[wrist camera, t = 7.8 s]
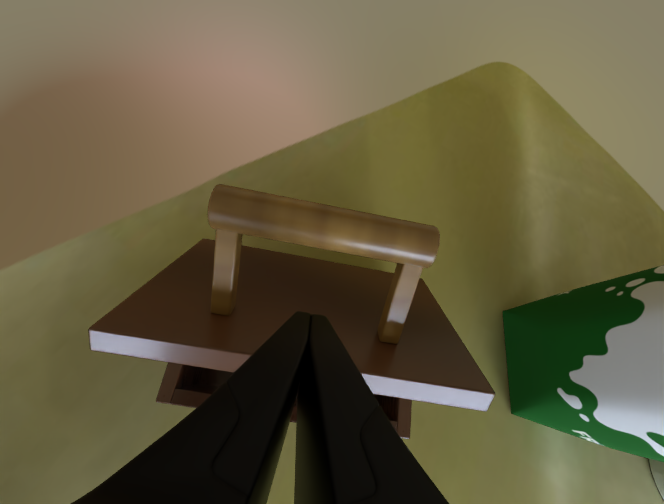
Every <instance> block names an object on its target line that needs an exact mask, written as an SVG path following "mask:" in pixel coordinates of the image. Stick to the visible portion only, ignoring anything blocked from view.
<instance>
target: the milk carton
mask: <svg viewBox="0 0 664 504" xmlns="http://www.w3.org/2000/svg"><path fill="white" fill-rule="evenodd" d="M503 322H504V334H505V346H506V357H507V369H508V380H509V392H510V403H511V414H514V415H517V416H520V417H523V418H525V419H528V420H531V421H534V422H537V423H540V424H543V425H545V426H548V427H551V428H554V429H557V430H560V431H562V432H565V433H568V434H571V435H574V436H576V437H579V438H582V439H585V440H588V441H591V442H594V443H596V444H599V445H602V446H606V447H609V448H612V449H616V450H620V451H623V452H627V453H631V454H634V455H638V456H641V457H645V458H649V459H653V460H657V461H660V462H664V265H663V266H659V267H655V268H651V269H648V270H644V271H640V272H637V273H633V274H629V275H625V276H622V277H618V278H614V279H611V280H607V281H603V282H599V283H596V284H592V285H588V286H585V287H581V288H577V289H574V290H570V291H567V292H563V293H560V294H557V295H554V296H550V297H547V298H544V299H541V300H538V301H534V302H531V303H528V304H525V305H522V306H518V307H515V308H512V309H509V310H505V311H503Z"/></svg>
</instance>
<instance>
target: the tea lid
mask: <svg viewBox="0 0 664 504" xmlns="http://www.w3.org/2000/svg"><path fill="white" fill-rule="evenodd" d="M208 222H209V225H210V227H212V228H213V229H216V236H215V240H210V239H202V240H201V241H200V242H198V243H197V244H196V245H194V246H193V247H192V248H191V249H189V250H188V251H187V252H185V253H184V254H183V255H182V256H180V257H179V258H178V259H177V260H175V261H174V262H173V263H171V264H170V265H169V266H168V267H166V268H165V269H164V270H162V271H161V272H160V273H159V274H157V275H156V276H155V277H154V278H152V279H151V280H150V281H148V282H147V283H146V284H145V285H143V286H142V287H141V288H139V289H138V290H137V291H136V292H134V293H133V294H132V295H131V296H129V297H128V298H127V299H125V300H124V301H123V302H122V303H120V304H119V305H118V306H116V307H115V308H114V309H113V310H111V311H110V312H109V313H108V314H106V315H105V316H104V317H102V318H101V319H100V320H99V321H97V322H96V323H95V324H93V325H92V326H91V327H90V328H89V330H88V331H89V342H90V349H91V350H93V351H99V352H106V353H112V354H119V355H125V356H132V357H138V358H144V359H151V360H157V361H164V362H170V363H177V364H183V365H190V366H196V367H202V368H209V369H215V370H222V371H228V372H235V371H236V370H237V369H238V368H239V367H240V366H241V365H242V364H243V363H244V362H245V361H246V360H247V359H248V358H249V357H250V356H251V355H252V354H253V353H254V352H255V351H256V350H257V349H258V348H259V347H261V346H262V345H263V344H264V343H265V342H266V341H267V340H268V339H269V338H270V337H271V336H272V335H273V334H274V333H275V332H276V331H277V330H278V329H279V328H280V327H281V326H282V325H283V324H284V323H285V322H286V321H287V320H288V319H289V318H290V317H291V316H292V315H293V314H294V313H295V312H297V311H301V312H307V313H310V314H311V315H312V314H318V315H324V316H326V317H327V318H328V320H329V322H330V323H331V325H332V327H333V328H334V330H335V332H336V333H337V335H338V337H339V338H340V340H341V342H342V343H343V345H344V346H345V348H346V350H347V351H348V353H349V355H350V356H351V358H352V360H353V361H354V363H355V365H356V366H357V368H358V370H359V371H360V373H361V375H362V376H363V378H364V380H365V381H366V383H367V385H368V386H369V388H370V389H371V391H372V393H373V394H377V395H383V396H389V397H396V398H402V399H409V400H415V401H422V402H428V403H435V404H441V405H447V406H454V407H460V408H467V409H473V410H480V411H487V410H488V408H489V406H490V404H491V402H492V400H493V398H494V396H495V392H494V390H493V389H492V387H491V386H490V384H489V382H488V381H487V379H486V378H485V376H484V375H483V373H482V372H481V370H480V368H479V367H478V365H477V364H476V362H475V361H474V359H473V357H472V356H471V354H470V353H469V351H468V350H467V348H466V346H465V345H464V343H463V342H462V340H461V339H460V337H459V336H458V334H457V332H456V331H455V329H454V328H453V326H452V325H451V323H450V321H449V320H448V318H447V317H446V315H445V314H444V312H443V310H442V309H441V307H440V306H439V304H438V303H437V301H436V300H435V298H434V296H433V295H432V293H431V292H430V290H429V289H428V287H427V285H426V284H425V282H424V281H423V279H422V278H420V275H421V272H422V269H423V268H428V267H430V266H431V265H432V264H433V262H434V261H435V258H436V256H437V253H438V249H439V244H440V234H439V230H438V229H437V228H436V227H435V226H431V225H426V224H421V223H416V222H411V221H406V220H401V219H396V218H391V217H386V216H381V215H375V214H370V213H365V212H360V211H355V210H350V209H345V208H340V207H335V206H330V205H325V204H319V203H314V202H309V201H304V200H299V199H294V198H289V197H284V196H279V195H274V194H269V193H263V192H258V191H253V190H248V189H243V188H238V187H233V186H228V185H223V184H218V185H216V186H215V188H214V189H213V191H212V193H211V196H210V200H209V204H208ZM243 234H245V235H250V236H256V237H261V238H266V239H272V240H277V241H282V242H288V243H293V244H298V245H304V246H309V247H315V248H320V249H325V250H331V251H336V252H341V253H347V254H352V255H357V256H363V257H368V258H374V259H379V260H384V261H390V262H395V263H397V266H396V269H395V272H394V273H389V272H384V271H379V270H373V269H368V268H362V267H357V266H351V265H346V264H340V263H335V262H330V261H324V260H319V259H313V258H308V257H302V256H297V255H291V254H286V253H281V252H275V251H270V250H264V249H259V248H253V247H248V246H242V235H243Z"/></svg>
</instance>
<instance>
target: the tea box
mask: <svg viewBox="0 0 664 504" xmlns="http://www.w3.org/2000/svg"><path fill="white" fill-rule="evenodd" d="M233 373H234V372H228V371H222V370H215V369H209V368H202V367H196V366H190V365H183V364H177V363H170V362H168V365H167V368H166V371H165V374H164V377H163V380H162V383H161V386H160V389H159V392H158V395H157V398H156V402H159V403H166V404H172V405H179V406H186V407H193V408H197V407H198V406H199V405H200V404H202V403H203V402H204V401H205V400H206V399H207V398H208V397H209V396H210V395H211V394H212V393H213V392H214V391H215V390H216V389H217V388H219V387H220V386H221V385H222V384H223V383H224V382H226V380H227V379H228V378H229V377H230V376H231V375H232V374H233ZM298 389H299V388H298ZM374 396H375V398H376V399H377V401H378V403H379V406H381V407H382V409H383V411H384V412H385V414H386V416H387V417H388V419H389V421H390V422H391V424H392V425H393V427H394V428H395V430H396V431H397V433H398V435H399V436H400V438H405V439H410V426H411V404H412V400H409V399H402V398H396V397H389V396H383V395H377V394H374ZM297 399H298V392H297V397H296V401H295V404H294V408H293V411H292V415H291V418H290V422H295V423H297Z"/></svg>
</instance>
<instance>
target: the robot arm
mask: <svg viewBox="0 0 664 504" xmlns="http://www.w3.org/2000/svg"><path fill="white" fill-rule="evenodd" d="M298 388H299V389H298ZM297 392H298V399H297V427H296V460H295V493H294V504H449V503H448V502H447V500H446V499H445V498H444V496H443V495H442V494H441V492H440V491H439V490H438V488H437V487H436V486H435V484H434V483H433V482H432V480H431V479H430V478H429V476H428V475H427V474H426V472H425V471H424V470H423V468H422V467H421V466H420V464H419V463H418V462H417V460H416V459H415V457H414V456H413V455H412V453H411V452H410V450H409V449H408V448H407V446H406V445H405V443H404V442H403V441H402V439H401V438H400V436H399V435H398V433H397V431H396V430H395V428H394V427H393V425H392V424H391V422H390V421H389V419H388V417H387V416H386V414H385V412H384V411H383V409H382V407H381V406H379V403H378V401H377V399H376V398H375V396H374V394H373V393H372V391H371V389H370V388H369V386H368V385H367V383H366V381H365V380H364V378H363V376H362V375H361V373H360V371H359V370H358V368H357V366H356V365H355V363H354V361H353V360H352V358H351V356H350V355H349V353H348V351H347V350H346V348H345V346H344V345H343V343H342V342H341V340H340V338H339V337H338V335H337V333H336V332H335V330H334V328H333V327H332V325H331V323H330V322H329V320H328V318H327V317H326V316H324V315H318V314H312V315H311V314H310V313H307V312H301V311H297V312H295V313H294V314H293V315H292V316H291V317H290V318H289V319H288V320H287V321H286V322H285V323H284V324H283V325H282V326H281V327H280V328H279V329H278V330H277V331H276V332H275V333H274V334H273V335H272V336H271V337H270V338H269V339H268V340H267V341H266V342H265V343H264V344H263V345H262V346H261V347H259V348H258V349H257V350H256V351H255V352H254V353H253V354H252V355H251V356H250V357H249V358H248V359H247V360H246V361H245V362H244V363H243V364H242V365H241V366H240V367H239V368H238V369H237V370H236V371H235V372H234V373H233V374H232V375H231V376H230V377H229V378H228V379H227V380H226V382H224V383H223V384H222V385H221V386H220V387H219V388H217V389H216V390H215V391H214V392H213V393H212V394H211V395H210V396H209V397H208V398H207V399H206V400H205V401H204V402H203V403H202V404H200V405H199V406H198V407H197V408H196V409H195V410H194V411H193V412H191V413H190V414H189V415H188V416H187V417H185V418H184V419H183V420H182V421H180V422H179V423H178V424H177V425H176V426H174V427H173V428H172V429H171V430H169V431H168V432H167V433H166V434H164V435H163V436H162V437H160V438H159V439H158V440H157V441H155V442H154V443H153V444H152V445H150V446H149V447H148V448H146V449H145V450H144V451H143V452H141V453H140V454H139V455H138V456H136V457H135V458H134V459H132V460H131V461H130V462H129V463H127V464H126V465H125V466H124V467H122V468H121V469H120V470H118V471H117V472H116V473H115V474H113V475H112V476H111V477H109V478H108V479H107V480H106V481H104V482H103V483H102V484H100V485H99V486H98V487H96V488H95V489H93V490H92V491H90V492H89V493H87V494H86V495H84V496H83V497H81V498H79V499H78V500H76V501H74V502H73V503H71V504H266V503H267V499H268V496H269V492H270V489H271V485H272V482H273V478H274V475H275V471H276V468H277V464H278V461H279V457H280V454H281V450H282V446H283V443H284V439H285V436H286V432H287V429H288V425H289V422H290V418H291V415H292V411H293V408H294V404H295V401H296V397H297Z"/></svg>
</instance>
